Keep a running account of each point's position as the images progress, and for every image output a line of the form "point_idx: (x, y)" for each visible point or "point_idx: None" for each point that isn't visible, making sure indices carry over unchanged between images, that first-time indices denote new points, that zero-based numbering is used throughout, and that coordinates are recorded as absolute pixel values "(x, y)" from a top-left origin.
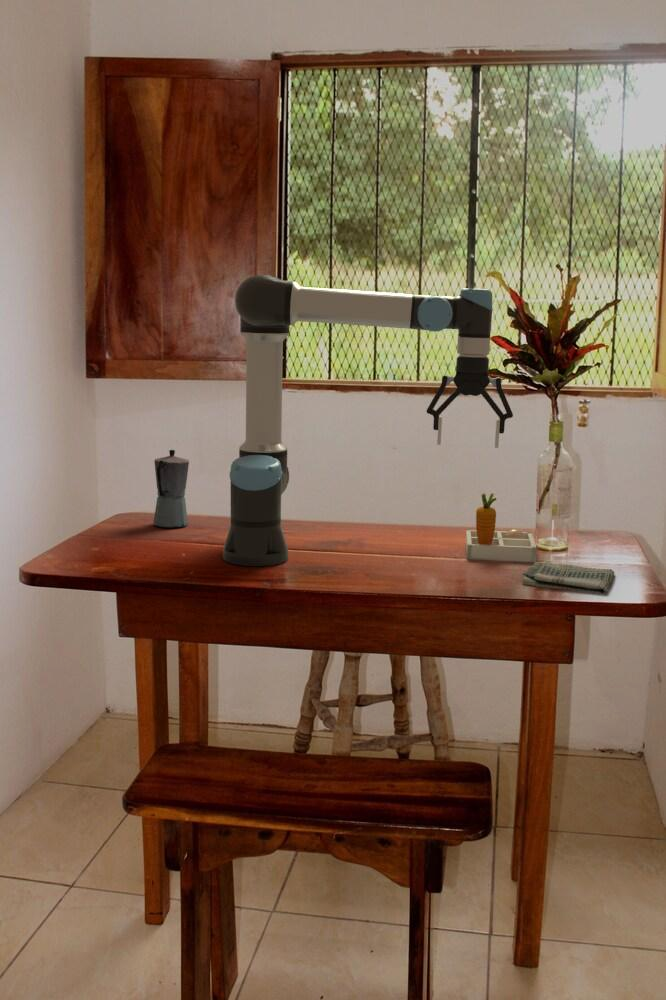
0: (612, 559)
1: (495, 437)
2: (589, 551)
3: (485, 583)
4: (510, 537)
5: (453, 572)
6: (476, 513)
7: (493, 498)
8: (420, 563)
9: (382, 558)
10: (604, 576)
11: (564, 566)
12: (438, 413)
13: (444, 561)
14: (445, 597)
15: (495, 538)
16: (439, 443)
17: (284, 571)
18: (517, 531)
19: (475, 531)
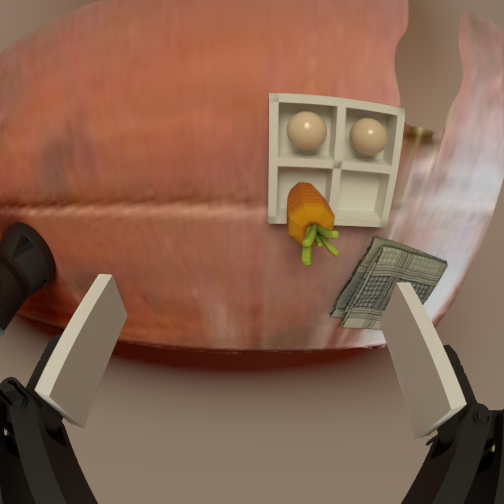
0: (477, 190)
1: (400, 343)
2: (467, 144)
3: (285, 314)
4: (359, 151)
5: (246, 280)
6: (287, 229)
7: (331, 252)
8: (195, 244)
9: (137, 226)
10: (421, 301)
11: (401, 262)
12: (60, 438)
13: (230, 228)
14: (240, 352)
15: (327, 165)
16: (121, 319)
17: (71, 292)
18: (377, 148)
19: (289, 102)
